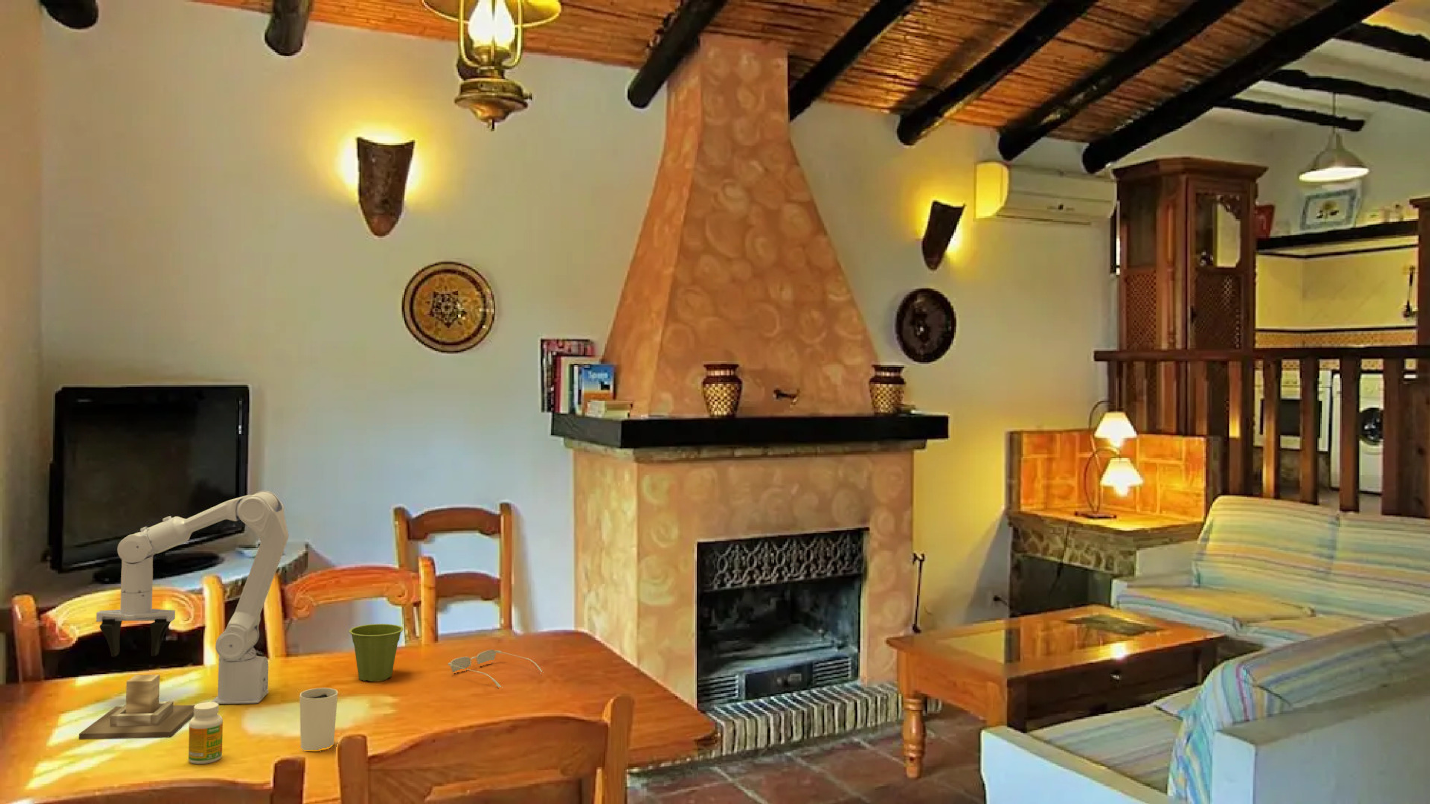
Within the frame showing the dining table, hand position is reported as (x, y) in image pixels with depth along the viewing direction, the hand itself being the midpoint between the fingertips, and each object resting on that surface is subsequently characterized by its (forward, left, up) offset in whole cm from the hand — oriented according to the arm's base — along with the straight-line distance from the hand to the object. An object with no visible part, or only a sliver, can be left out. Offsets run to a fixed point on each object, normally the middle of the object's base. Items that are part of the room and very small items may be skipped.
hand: (135, 655), depth 211 cm
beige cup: (-43, +30, -10) cm, 53 cm away
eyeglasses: (-74, -14, -10) cm, 76 cm away
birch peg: (-7, +15, -9) cm, 19 cm away
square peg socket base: (-7, +15, -10) cm, 19 cm away
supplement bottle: (-25, +35, -10) cm, 44 cm away
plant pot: (-46, -14, -10) cm, 49 cm away
